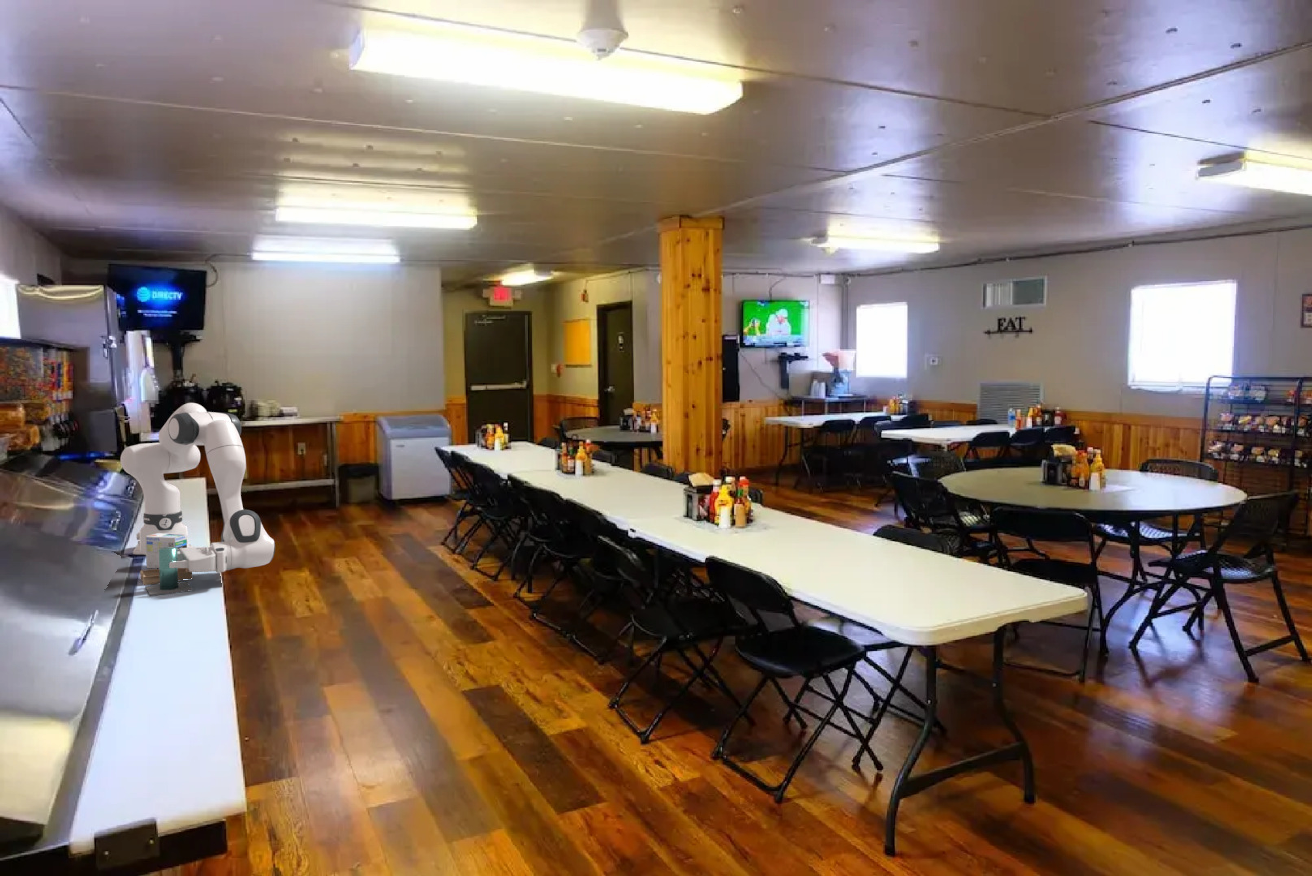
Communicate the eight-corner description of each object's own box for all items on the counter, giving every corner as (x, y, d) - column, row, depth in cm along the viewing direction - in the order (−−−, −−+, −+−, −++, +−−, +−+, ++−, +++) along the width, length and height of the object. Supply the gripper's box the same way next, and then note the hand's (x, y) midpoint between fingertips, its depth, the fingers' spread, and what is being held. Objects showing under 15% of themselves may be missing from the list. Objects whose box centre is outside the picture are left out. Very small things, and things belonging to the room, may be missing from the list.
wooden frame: (140, 578, 268) (140, 570, 268) (187, 573, 276) (187, 565, 276) (144, 585, 260) (143, 577, 260) (192, 579, 268) (192, 571, 268)
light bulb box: (189, 565, 287) (188, 533, 286) (176, 569, 280) (175, 537, 279) (159, 563, 288) (158, 532, 287) (145, 568, 281) (144, 535, 281)
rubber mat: (145, 587, 258) (145, 586, 258) (186, 582, 264) (186, 581, 264) (149, 595, 249) (149, 594, 249) (192, 590, 255) (192, 589, 255)
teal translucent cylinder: (158, 587, 257) (157, 547, 256) (176, 585, 260) (176, 546, 259) (160, 590, 253) (159, 550, 252) (179, 588, 256) (178, 548, 255)
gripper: (211, 540, 272) (161, 545, 264) (224, 552, 255) (171, 557, 247) (212, 560, 272) (162, 565, 264) (224, 573, 256) (171, 579, 248)
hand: (166, 561), depth 256 cm, fingers open, 8 cm apart
